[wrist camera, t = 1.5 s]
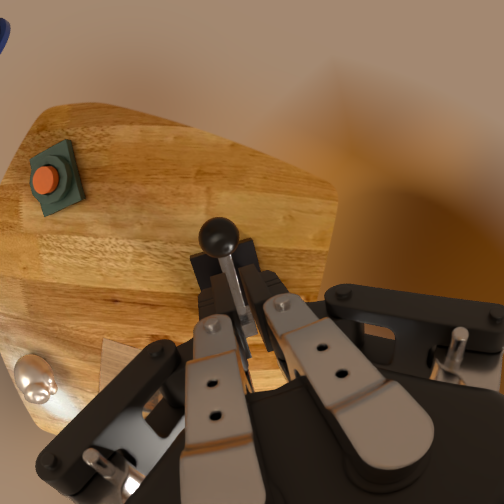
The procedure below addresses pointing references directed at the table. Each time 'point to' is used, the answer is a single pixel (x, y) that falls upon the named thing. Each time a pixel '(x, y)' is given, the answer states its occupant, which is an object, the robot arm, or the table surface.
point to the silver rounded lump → (35, 379)
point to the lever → (227, 262)
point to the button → (45, 179)
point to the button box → (68, 174)
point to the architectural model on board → (149, 406)
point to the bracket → (211, 266)
